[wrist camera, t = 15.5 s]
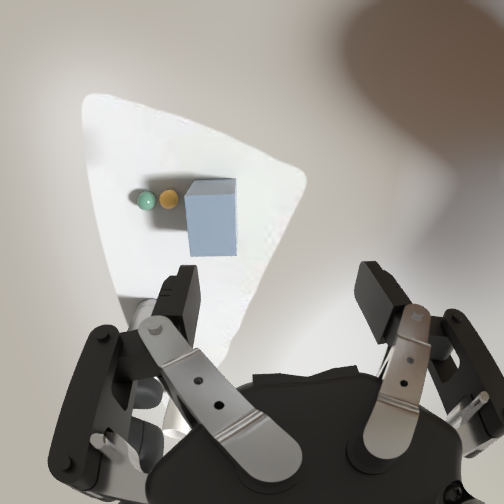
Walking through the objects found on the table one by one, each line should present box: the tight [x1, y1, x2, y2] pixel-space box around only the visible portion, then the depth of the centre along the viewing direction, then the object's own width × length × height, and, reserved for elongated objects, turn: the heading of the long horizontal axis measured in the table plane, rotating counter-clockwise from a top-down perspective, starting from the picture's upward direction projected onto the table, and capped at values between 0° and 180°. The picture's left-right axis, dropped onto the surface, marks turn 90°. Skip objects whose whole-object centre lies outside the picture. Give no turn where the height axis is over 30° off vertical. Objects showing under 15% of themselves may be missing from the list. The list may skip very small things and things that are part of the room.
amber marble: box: [159, 190, 179, 209], centre depth 40 cm, size 3×3×3 cm
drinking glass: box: [162, 398, 190, 439], centre depth 60 cm, size 7×7×15 cm
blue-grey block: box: [184, 179, 237, 257], centre depth 39 cm, size 9×6×8 cm
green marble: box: [137, 191, 155, 210], centre depth 40 cm, size 3×3×3 cm
